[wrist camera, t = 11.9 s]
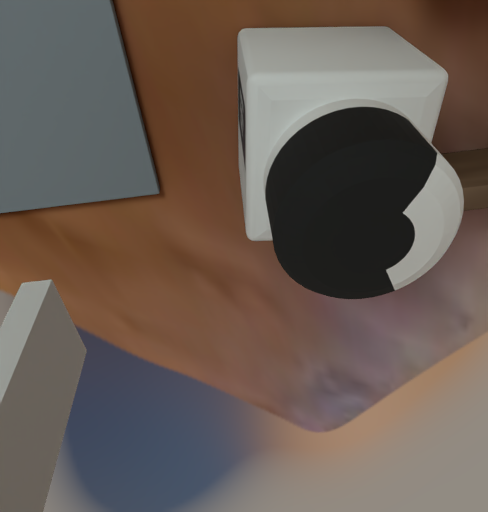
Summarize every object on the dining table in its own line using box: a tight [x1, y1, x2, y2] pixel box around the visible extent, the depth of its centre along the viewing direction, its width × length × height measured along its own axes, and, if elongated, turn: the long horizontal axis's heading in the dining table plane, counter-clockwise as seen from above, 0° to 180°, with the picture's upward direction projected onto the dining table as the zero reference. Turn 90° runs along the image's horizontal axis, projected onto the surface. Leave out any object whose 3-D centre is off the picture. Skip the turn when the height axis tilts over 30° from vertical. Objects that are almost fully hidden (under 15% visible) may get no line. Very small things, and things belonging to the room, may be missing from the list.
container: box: [238, 26, 464, 299], centre depth 20 cm, size 8×8×13 cm
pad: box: [0, 0, 160, 213], centre depth 25 cm, size 11×11×1 cm
